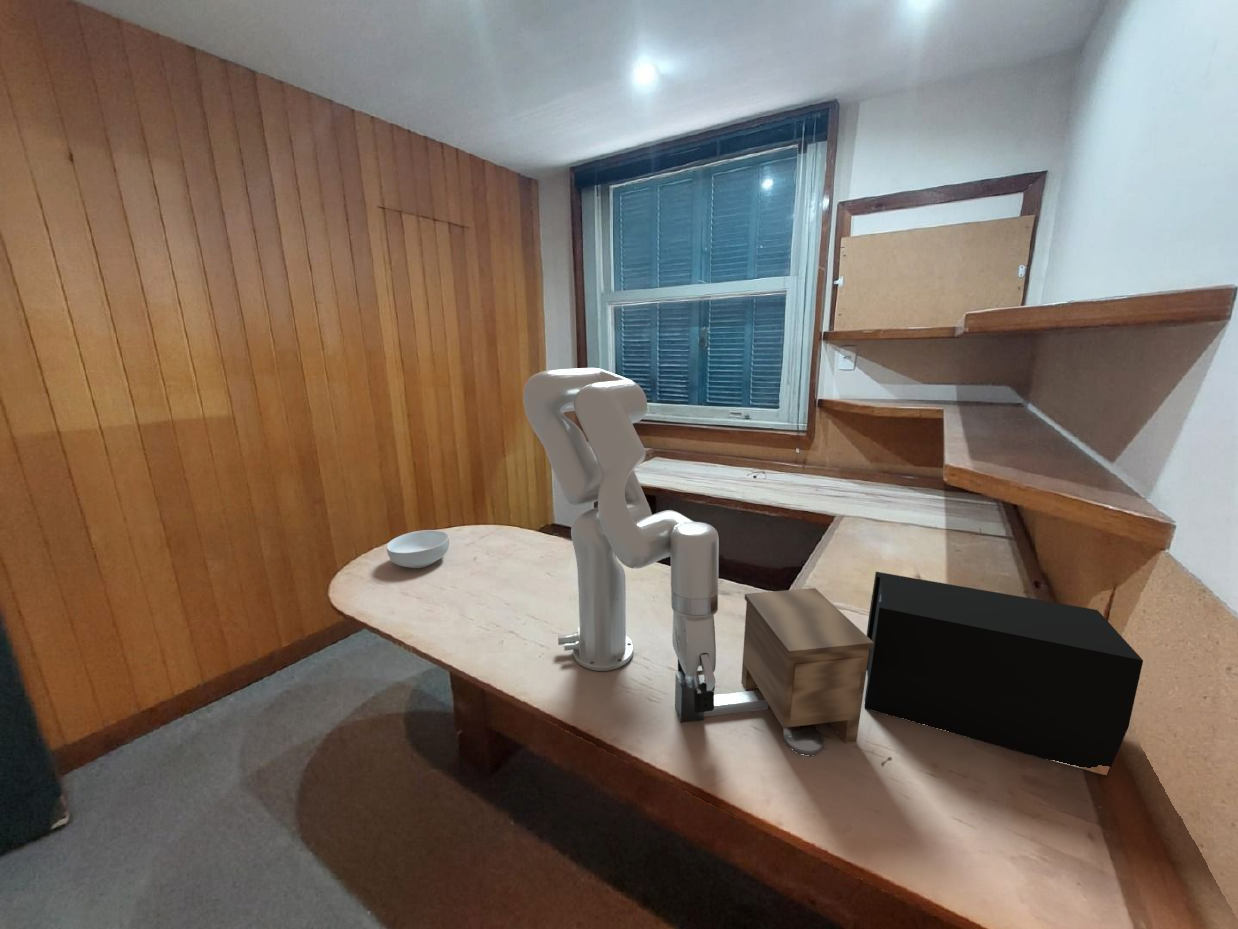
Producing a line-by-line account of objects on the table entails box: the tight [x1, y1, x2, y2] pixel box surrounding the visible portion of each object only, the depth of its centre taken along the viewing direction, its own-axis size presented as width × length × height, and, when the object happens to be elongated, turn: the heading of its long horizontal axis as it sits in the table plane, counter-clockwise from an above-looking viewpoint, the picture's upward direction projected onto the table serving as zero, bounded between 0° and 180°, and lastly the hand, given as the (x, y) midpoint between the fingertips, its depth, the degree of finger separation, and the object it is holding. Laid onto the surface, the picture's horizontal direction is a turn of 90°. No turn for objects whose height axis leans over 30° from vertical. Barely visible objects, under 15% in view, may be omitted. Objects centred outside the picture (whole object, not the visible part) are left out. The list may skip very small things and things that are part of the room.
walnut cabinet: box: [740, 587, 874, 744], centre depth 81 cm, size 14×17×18 cm
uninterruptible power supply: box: [864, 571, 1144, 768], centre depth 80 cm, size 16×34×20 cm, turn 64°
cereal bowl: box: [386, 529, 450, 569], centre depth 140 cm, size 17×17×7 cm
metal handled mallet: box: [674, 669, 769, 724], centre depth 83 cm, size 16×4×7 cm, turn 98°
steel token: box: [782, 724, 824, 757], centre depth 77 cm, size 6×6×2 cm
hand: (694, 690), depth 81 cm, fingers open, 9 cm apart
